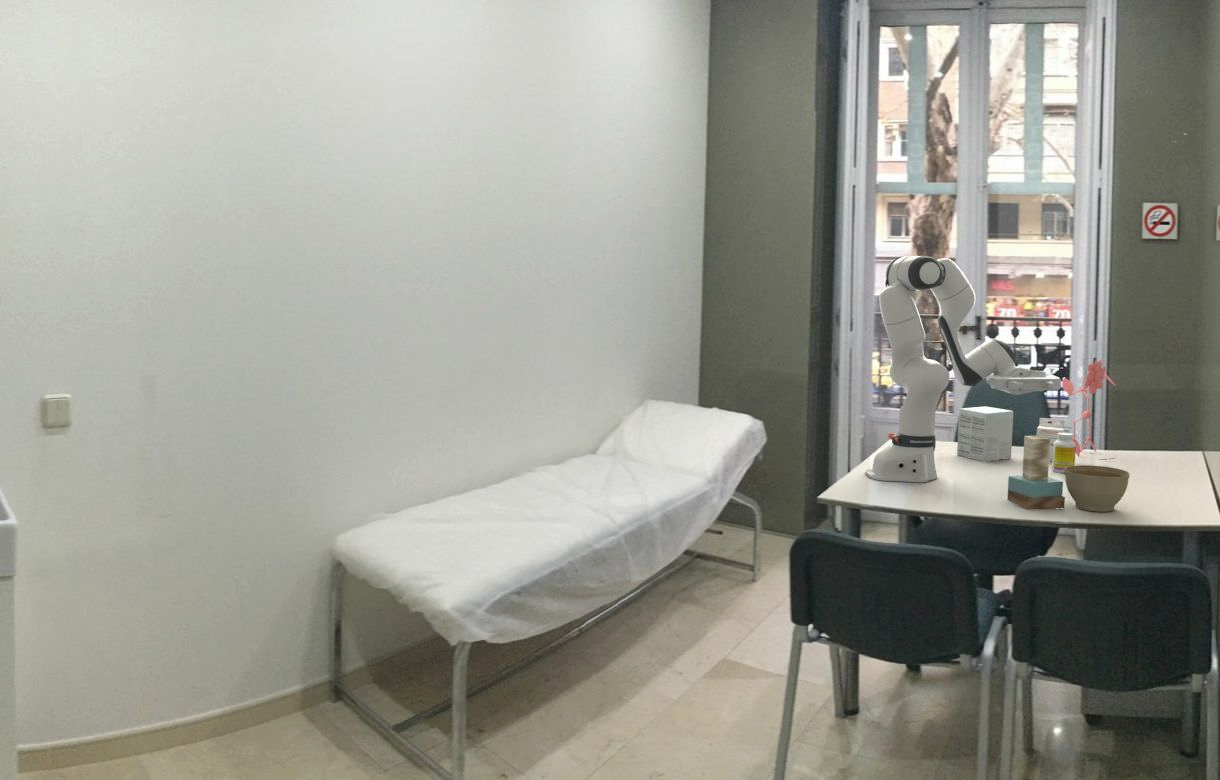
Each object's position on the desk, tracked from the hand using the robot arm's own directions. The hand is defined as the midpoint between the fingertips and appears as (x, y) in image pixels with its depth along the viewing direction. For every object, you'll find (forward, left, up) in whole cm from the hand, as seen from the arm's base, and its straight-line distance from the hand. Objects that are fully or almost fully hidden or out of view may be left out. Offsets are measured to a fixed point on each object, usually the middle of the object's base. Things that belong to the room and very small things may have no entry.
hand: (1035, 386), depth 270 cm
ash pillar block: (-7, -19, -24) cm, 31 cm away
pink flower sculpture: (+45, +52, -32) cm, 76 cm away
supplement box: (+5, +49, -32) cm, 59 cm away
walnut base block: (-7, -19, -32) cm, 38 cm away
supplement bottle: (+22, +25, -32) cm, 46 cm away
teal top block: (-7, -19, -28) cm, 35 cm away
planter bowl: (+8, -23, -32) cm, 40 cm away
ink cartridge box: (+26, +44, -32) cm, 60 cm away
